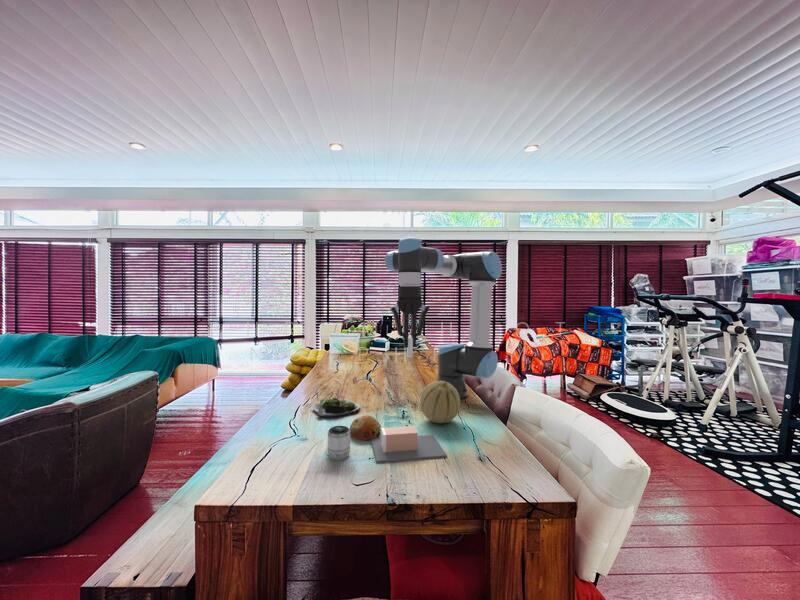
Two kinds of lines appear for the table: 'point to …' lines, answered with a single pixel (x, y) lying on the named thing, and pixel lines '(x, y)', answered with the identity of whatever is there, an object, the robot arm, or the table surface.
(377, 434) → the bread roll
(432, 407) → the cantaloupe
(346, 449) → the camera lens
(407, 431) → the block
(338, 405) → the salad plate
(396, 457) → the mat
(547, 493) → the table surface
